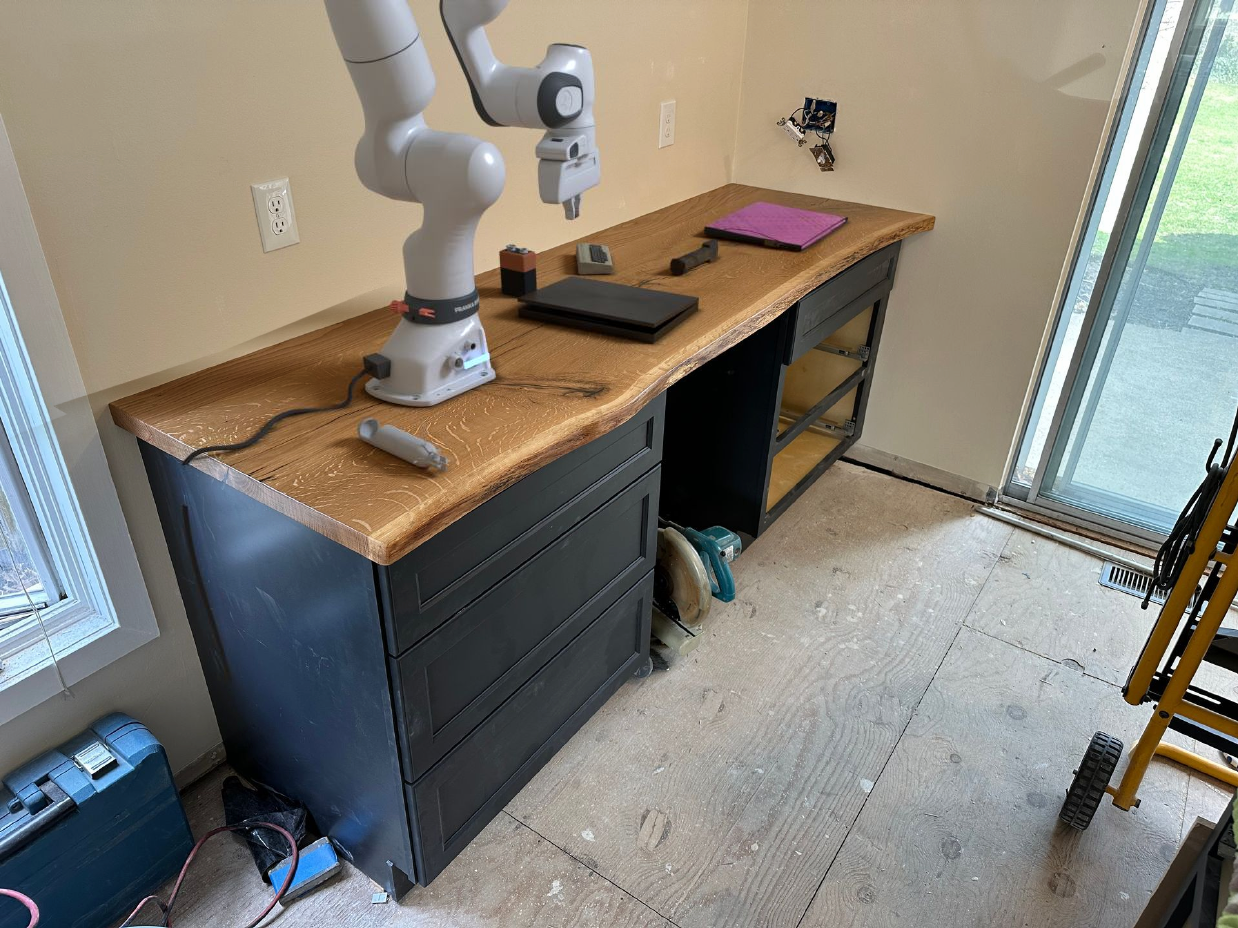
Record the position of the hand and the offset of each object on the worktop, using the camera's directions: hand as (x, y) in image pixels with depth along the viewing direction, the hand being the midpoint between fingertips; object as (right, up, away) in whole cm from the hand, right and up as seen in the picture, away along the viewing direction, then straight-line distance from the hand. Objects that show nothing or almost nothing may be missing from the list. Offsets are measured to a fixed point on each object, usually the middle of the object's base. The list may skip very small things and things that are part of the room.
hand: (572, 218), depth 164 cm
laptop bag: (+51, +16, +67) cm, 86 cm away
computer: (+3, 0, +39) cm, 39 cm away
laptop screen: (+7, -14, +9) cm, 18 cm away
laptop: (+7, -16, +10) cm, 20 cm away
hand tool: (+27, 0, +39) cm, 48 cm away
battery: (-13, -10, +21) cm, 26 cm away
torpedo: (-22, -46, -42) cm, 66 cm away
